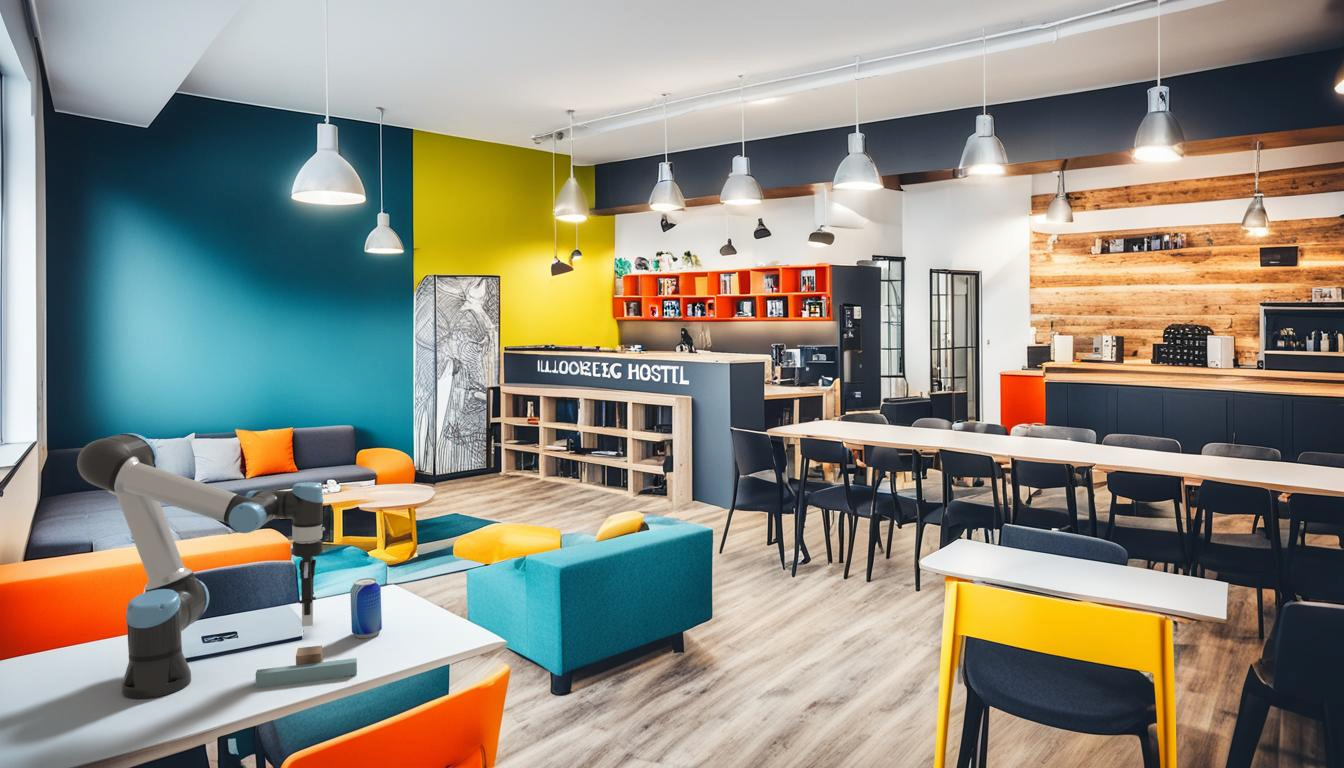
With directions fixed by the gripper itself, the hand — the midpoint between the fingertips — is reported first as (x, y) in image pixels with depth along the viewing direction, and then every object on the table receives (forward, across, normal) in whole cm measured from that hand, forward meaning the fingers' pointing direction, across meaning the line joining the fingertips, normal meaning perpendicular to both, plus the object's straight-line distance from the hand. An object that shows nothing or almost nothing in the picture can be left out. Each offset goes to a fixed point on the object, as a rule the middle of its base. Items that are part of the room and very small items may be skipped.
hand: (307, 625), depth 238 cm
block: (+10, -9, -1) cm, 14 cm away
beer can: (+10, +16, -15) cm, 24 cm away
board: (+10, -14, -1) cm, 17 cm away
